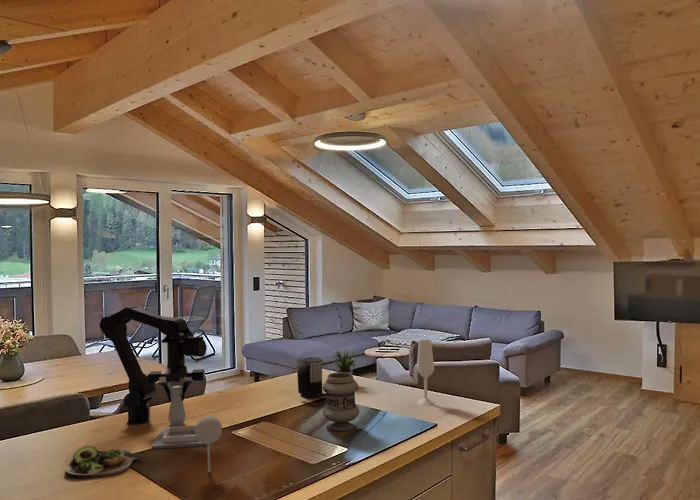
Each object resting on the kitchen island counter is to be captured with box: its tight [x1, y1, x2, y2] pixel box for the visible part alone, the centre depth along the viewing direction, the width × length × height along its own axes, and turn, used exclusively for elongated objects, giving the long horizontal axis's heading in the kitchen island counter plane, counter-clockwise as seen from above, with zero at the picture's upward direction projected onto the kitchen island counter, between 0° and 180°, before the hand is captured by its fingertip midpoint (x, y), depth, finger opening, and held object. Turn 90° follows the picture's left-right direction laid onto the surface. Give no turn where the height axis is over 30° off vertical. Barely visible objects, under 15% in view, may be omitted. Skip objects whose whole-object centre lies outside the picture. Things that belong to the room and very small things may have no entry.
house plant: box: [329, 348, 358, 375], centre depth 244 cm, size 14×14×16 cm
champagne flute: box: [416, 338, 435, 406], centre depth 215 cm, size 7×7×24 cm
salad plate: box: [64, 445, 144, 479], centre depth 158 cm, size 19×18×5 cm
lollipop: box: [195, 415, 223, 473], centre depth 152 cm, size 7×7×15 cm
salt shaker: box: [167, 385, 187, 427], centre depth 193 cm, size 6×6×13 cm
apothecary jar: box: [322, 371, 360, 434], centre depth 186 cm, size 12×12×18 cm
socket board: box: [151, 424, 207, 450], centre depth 179 cm, size 16×16×2 cm
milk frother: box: [296, 356, 326, 399], centre depth 225 cm, size 14×16×15 cm
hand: (176, 400), depth 193 cm, fingers closed on salt shaker, 4 cm apart
